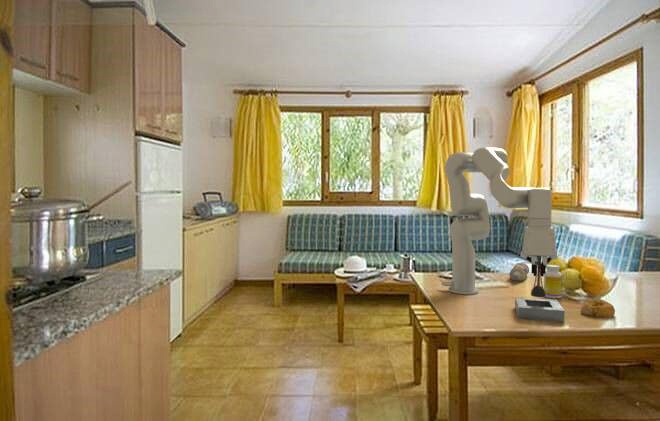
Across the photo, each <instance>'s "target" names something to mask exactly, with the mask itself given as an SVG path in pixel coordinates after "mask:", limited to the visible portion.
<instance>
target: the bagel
mask: <svg viewBox="0 0 660 421" xmlns="http://www.w3.org/2000/svg"><path fill="white" fill-rule="evenodd" d="M580 313H581V314H582V315H584V316H585V315H586V316H589V317H597V318H605V319H608V318H612V317H613V316H614V315H615V314H616V310H615V307H614V305H613V304H612V303H610V302H608V301H605V300H603V299H589V300H588V301H586V302H585V303H584V304H583V305H582V306H581V308H580Z"/></svg>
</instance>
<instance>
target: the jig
mask: <svg viewBox="0 0 660 421" xmlns="http://www.w3.org/2000/svg"><path fill="white" fill-rule="evenodd" d="M514 310H515V311H516V315H517V318H518V320H526V321H541V322H555V323H565V309H564V308H563V306H562V305H561V303H560V302H559V301H558V300H557V299H551V298H535V297H534V298H531V297H520V296H519V297H517V296H516V297H514Z"/></svg>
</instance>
